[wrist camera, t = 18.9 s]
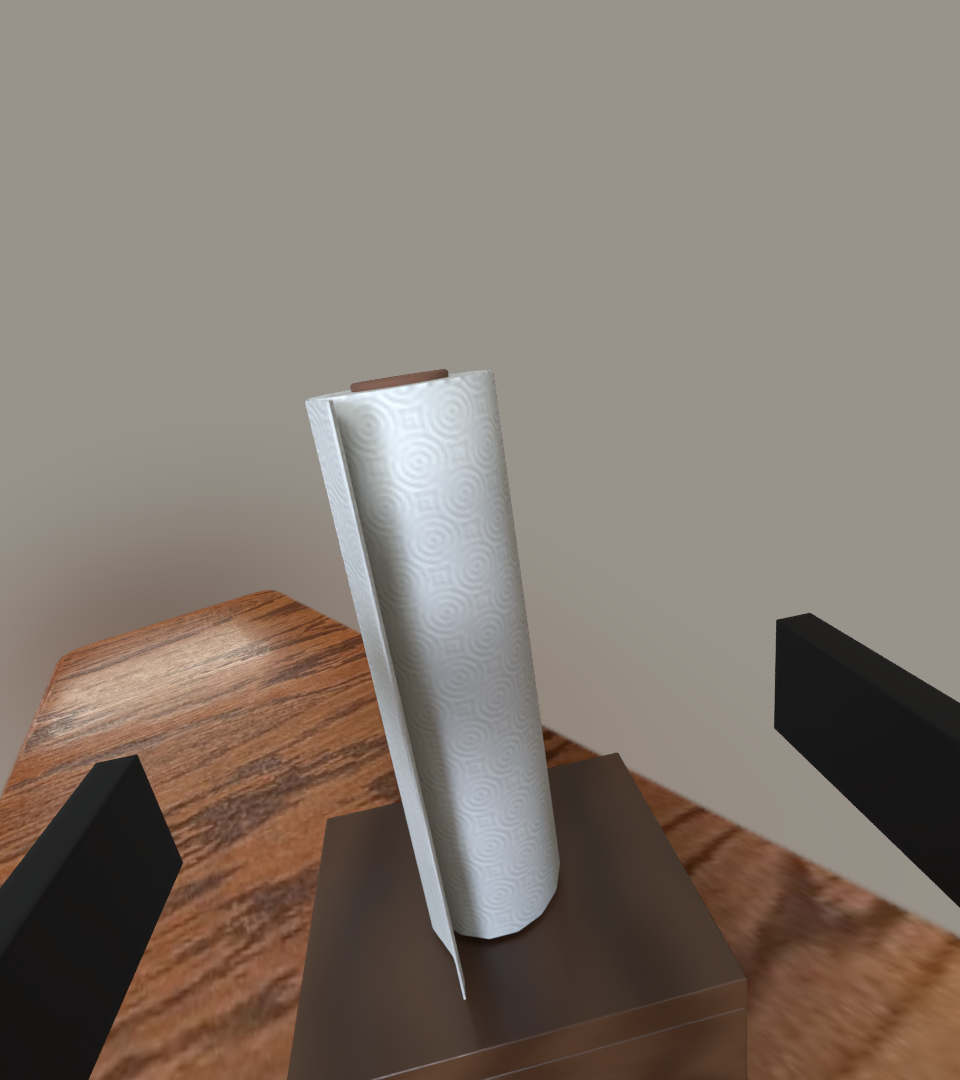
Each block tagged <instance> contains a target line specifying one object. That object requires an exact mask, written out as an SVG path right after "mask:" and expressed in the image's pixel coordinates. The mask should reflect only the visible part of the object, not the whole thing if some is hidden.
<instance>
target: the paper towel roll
mask: <svg viewBox="0 0 960 1080" xmlns="http://www.w3.org/2000/svg"><path fill="white" fill-rule="evenodd" d="M350 387H351V390H348V391H343V392H338V393H332V394H327V395H322V396H317V397H312V398H309V399H307V400H306V401H305V404H306V408H307V412H308V416H309V420H310V424H311V428H312V433H313V437H314V441H315V445H316V449H317V453H318V457H319V461H320V465H321V470H322V474H323V478H324V482H325V486H326V490H327V494H328V498H329V502H330V507H331V511H332V515H333V519H334V523H335V527H336V531H337V536H338V540H339V544H340V548H341V552H342V556H343V560H344V564H345V569H346V572H347V576H348V581H349V585H350V589H351V593H352V597H353V601H354V605H355V610H356V614H357V618H358V622H359V626H360V630H361V634H362V639H363V643H364V647H365V651H366V655H367V659H368V663H369V667H370V672H371V676H372V680H373V684H374V688H375V692H376V696H377V700H378V704H379V709H380V713H381V717H382V721H383V725H384V729H385V733H386V737H387V742H388V746H389V750H390V754H391V758H392V762H393V766H394V770H395V775H396V779H397V783H398V787H399V791H400V795H401V799H402V803H403V807H404V812H405V816H406V820H407V824H408V828H409V832H410V836H411V840H412V845H413V849H414V853H415V857H416V861H417V865H418V869H419V873H420V878H421V882H422V886H423V890H424V894H425V898H426V902H427V906H428V910H429V915H430V919H431V923H432V927H433V929H434V931H435V932H436V933H437V935H438V936H439V938H440V939H441V940H442V942H443V943H444V945H445V946H446V947H447V949H448V950H449V952H450V953H451V954H452V956H453V958H454V960H455V964H456V968H457V972H458V977H459V981H460V985H461V990H462V994H463V998H464V1000H465V999H466V993H465V981H464V976H463V972H462V967H461V963H460V958H459V954H458V950H457V945H456V941H455V936H454V932H453V930H455V931H456V932H458V933H459V934H461V935H465V936H472V937H479V938H486V939H491V938H495V937H499V936H503V935H507V934H511V933H515V932H518V931H520V930H521V929H523V928H524V927H525V926H527V925H528V924H529V923H531V922H532V921H533V920H535V919H536V918H538V917H539V916H540V915H542V913H543V912H544V910H545V908H546V907H547V905H548V903H549V902H550V900H551V898H552V897H553V895H554V894H555V892H556V889H557V883H558V875H559V867H560V859H559V852H558V845H557V837H556V830H555V822H554V815H553V808H552V800H551V793H550V786H549V778H548V771H547V764H546V756H545V749H544V741H543V734H542V727H541V719H540V712H539V705H538V697H537V690H536V683H535V676H534V668H533V661H532V654H531V646H530V638H529V631H528V624H527V616H526V610H525V602H524V594H523V587H522V579H521V572H520V565H519V557H518V551H517V543H516V536H515V528H514V521H513V513H512V506H511V499H510V492H509V484H508V476H507V469H506V462H505V455H504V447H503V440H502V432H501V425H500V419H499V411H498V403H497V395H496V388H495V381H494V373H493V371H492V370H479V371H470V372H462V373H455V374H448V371H447V370H446V369H441V370H434V371H427V372H420V373H413V374H407V375H401V376H394V377H388V378H382V379H376V380H370V381H365V382H360V383H354V384H352V385H351V386H350Z"/></svg>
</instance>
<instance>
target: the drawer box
mask: <svg viewBox="0 0 960 1080" xmlns="http://www.w3.org/2000/svg"><path fill="white" fill-rule="evenodd" d="M547 771H548V778H549V786H550V793H551V800H552V808H553V815H554V822H555V830H556V837H557V845H558V852H559V859H560V867H559V875H558V883H557V889H556V892H555V894H554V895H553V897H552V898H551V900H550V902H549V903H548V905H547V907H546V908H545V910H544V912H543V913H542V915H540V916H539V917H538V918H536V919H535V920H533V921H532V922H531V923H529V924H528V925H527V926H525V927H524V928H523V929H521V930H520V931H518V932H515V933H511V934H507V935H503V936H499V937H495V938H491V939H486V938H479V937H472V936H465V935H461V934H459V933H458V932H456V931H455V930H453V932H454V936H455V941H456V945H457V950H458V954H459V958H460V963H461V967H462V972H463V976H464V981H465V993H466V999H465V1000H464V998H463V994H462V990H461V985H460V981H459V977H458V972H457V968H456V964H455V960H454V958H453V956H452V954H451V953H450V952H449V950H448V949H447V947H446V946H445V945H444V943H443V942H442V940H441V939H440V938H439V936H438V935H437V933H436V932H435V931H434V929H433V927H432V923H431V919H430V915H429V910H428V906H427V902H426V898H425V894H424V890H423V886H422V882H421V878H420V873H419V869H418V865H417V861H416V857H415V853H414V849H413V845H412V840H411V836H410V832H409V828H408V824H407V820H406V816H405V812H404V807H403V803H402V802H399V803H395V804H390V805H386V806H382V807H377V808H373V809H369V810H364V811H360V812H355V813H351V814H347V815H342V816H338V817H334V818H329V819H327V823H326V830H325V836H324V843H323V849H322V856H321V862H320V869H319V875H318V882H317V888H316V895H315V901H314V908H313V914H312V921H311V927H310V934H309V940H308V947H307V953H306V960H305V966H304V973H303V979H302V986H301V992H300V999H299V1005H298V1012H297V1018H296V1025H295V1031H294V1038H293V1044H292V1051H291V1057H290V1064H289V1070H288V1077H287V1080H747V1007H746V1006H747V977H746V975H745V974H744V972H743V970H742V968H741V967H740V965H739V963H738V961H737V960H736V958H735V956H734V954H733V953H732V951H731V949H730V947H729V946H728V944H727V942H726V940H725V939H724V937H723V935H722V933H721V932H720V930H719V928H718V926H717V925H716V923H715V921H714V919H713V918H712V916H711V914H710V912H709V911H708V909H707V907H706V905H705V904H704V902H703V900H702V898H701V897H700V895H699V893H698V891H697V890H696V888H695V886H694V884H693V883H692V881H691V879H690V877H689V876H688V874H687V872H686V871H685V869H684V867H683V865H682V864H681V862H680V860H679V858H678V857H677V855H676V853H675V851H674V850H673V848H672V846H671V844H670V843H669V841H668V839H667V837H666V836H665V834H664V832H663V830H662V829H661V827H660V825H659V823H658V822H657V820H656V818H655V816H654V815H653V813H652V811H651V809H650V808H649V806H648V804H647V802H646V801H645V799H644V797H643V795H642V794H641V792H640V790H639V788H638V787H637V785H636V783H635V781H634V780H633V778H632V776H631V774H630V773H629V771H628V769H627V767H626V766H625V764H624V762H623V760H622V759H621V757H620V755H619V754H618V753H614V754H610V755H605V756H600V757H596V758H592V759H587V760H583V761H578V762H574V763H570V764H565V765H561V766H557V767H552V768H548V769H547Z"/></svg>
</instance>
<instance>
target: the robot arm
mask: <svg viewBox="0 0 960 1080" xmlns="http://www.w3.org/2000/svg"><path fill="white" fill-rule="evenodd" d="M775 664H776V665H775V711H774V712H775V713H774V728H775V729H776V730H777V731H778V732H779V733H780V734H781V735H782V736H783V737H784V738H785V739H786V740H787V741H788V742H789V743H790V744H791V745H792V746H793V747H794V748H795V749H796V750H797V751H798V752H799V753H801V754H802V755H803V756H804V757H805V758H806V759H807V760H808V761H809V762H810V763H811V764H812V765H813V766H814V767H815V768H816V769H817V770H818V771H819V772H820V773H821V774H822V775H823V776H824V777H825V778H826V779H827V780H828V781H829V782H831V784H833V785H834V786H835V787H836V788H837V789H838V790H839V791H840V792H841V793H842V794H843V795H844V796H845V797H846V798H847V799H848V800H849V801H850V802H851V803H852V804H853V805H854V806H855V807H856V808H857V809H858V810H859V811H860V812H862V813H863V814H864V815H865V816H866V817H867V818H868V819H869V820H870V821H871V822H872V823H873V824H874V825H875V826H876V827H877V828H878V829H879V830H880V831H881V832H882V833H883V834H884V835H885V836H886V837H887V838H888V839H889V840H890V841H891V842H892V843H893V844H895V845H896V846H897V847H898V848H899V849H900V850H901V851H902V852H903V853H904V854H905V855H906V856H907V857H908V858H909V859H910V860H911V861H912V862H913V863H914V864H915V865H916V866H917V867H918V868H919V869H921V871H923V873H925V874H926V875H927V876H928V877H929V878H930V879H931V880H932V881H933V882H934V883H935V884H936V885H937V886H938V887H939V888H940V889H941V890H942V891H943V892H944V893H945V894H946V895H947V896H948V897H949V898H950V899H951V900H952V901H954V903H956V904H957V905H958V906H959V907H960V703H959V702H957V701H956V700H954V699H952V698H951V697H949V696H947V695H946V694H944V693H942V692H941V691H939V690H937V689H936V688H934V687H932V686H931V685H929V684H927V683H925V682H924V681H922V680H921V679H919V678H917V677H916V676H914V675H912V674H911V673H909V672H907V671H906V670H904V669H902V668H901V667H899V666H897V665H896V664H894V663H892V662H891V661H889V660H887V659H886V658H884V657H883V656H881V655H879V654H878V653H876V652H874V651H872V650H871V649H869V648H868V647H866V646H864V645H863V644H861V643H859V642H858V641H856V640H854V639H853V638H851V637H849V636H848V635H846V634H844V633H843V632H841V631H839V630H838V629H836V628H834V627H833V626H831V625H829V624H828V623H826V622H824V621H823V620H821V619H819V618H818V617H816V616H814V615H813V614H811V613H807V614H802V615H798V616H793V617H788V618H783V619H778V620H776V663H775ZM182 864H183V861H182V859H181V857H180V854H179V852H178V850H177V847H176V845H175V843H174V840H173V838H172V835H171V833H170V831H169V828H168V826H167V824H166V821H165V819H164V816H163V814H162V812H161V809H160V807H159V805H158V802H157V800H156V798H155V795H154V793H153V790H152V788H151V786H150V783H149V781H148V779H147V776H146V774H145V771H144V769H143V767H142V764H141V762H140V760H139V757H138V755H132V756H127V757H123V758H118V759H113V760H108V761H104V762H99V763H96V764H95V765H94V766H93V768H92V769H91V770H90V772H89V773H88V774H87V775H86V777H85V778H84V779H83V781H82V782H81V783H80V785H79V786H78V787H77V789H76V790H75V791H74V793H73V794H72V795H71V796H70V798H69V799H68V800H67V802H66V803H65V804H64V806H63V807H62V808H61V810H60V811H59V812H58V813H57V815H56V816H55V817H54V819H53V820H52V821H51V823H50V824H49V825H48V827H47V828H46V829H45V830H44V832H43V833H42V834H41V836H40V837H39V838H38V840H37V841H36V842H35V844H34V845H33V846H32V848H31V849H30V850H29V851H28V853H27V854H26V855H25V857H24V858H23V859H22V861H21V862H20V863H19V865H18V866H17V867H16V868H15V870H14V871H13V872H12V874H11V875H10V876H9V878H8V879H7V880H6V882H5V883H4V884H3V885H2V887H1V888H0V1080H89V1077H90V1075H91V1073H92V1071H93V1068H94V1066H95V1064H96V1061H97V1059H98V1057H99V1054H100V1052H101V1050H102V1048H103V1045H104V1043H105V1041H106V1038H107V1036H108V1034H109V1032H110V1029H111V1027H112V1025H113V1022H114V1020H115V1018H116V1015H117V1013H118V1011H119V1009H120V1006H121V1004H122V1002H123V999H124V997H125V995H126V992H127V990H128V988H129V986H130V983H131V981H132V979H133V976H134V974H135V972H136V970H137V967H138V965H139V963H140V960H141V958H142V956H143V953H144V951H145V949H146V947H147V944H148V942H149V940H150V937H151V935H152V933H153V931H154V928H155V926H156V924H157V921H158V919H159V917H160V914H161V912H162V910H163V908H164V905H165V903H166V901H167V898H168V896H169V894H170V891H171V889H172V887H173V885H174V882H175V880H176V878H177V875H178V873H179V871H180V869H181V866H182Z"/></svg>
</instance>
